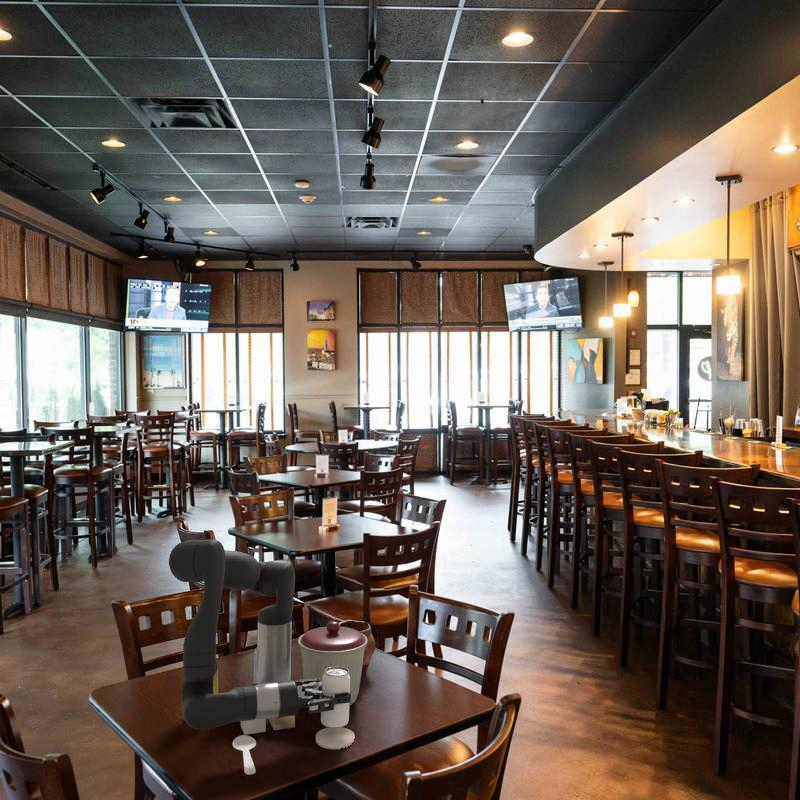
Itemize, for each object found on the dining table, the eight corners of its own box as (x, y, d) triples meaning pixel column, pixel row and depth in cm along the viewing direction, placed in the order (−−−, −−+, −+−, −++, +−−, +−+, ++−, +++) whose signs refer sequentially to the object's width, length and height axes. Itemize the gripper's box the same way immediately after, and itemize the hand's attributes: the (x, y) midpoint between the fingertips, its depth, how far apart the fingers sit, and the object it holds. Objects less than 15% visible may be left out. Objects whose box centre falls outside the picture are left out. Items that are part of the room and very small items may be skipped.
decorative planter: (388, 682, 205) (389, 633, 205) (348, 690, 199) (349, 639, 199) (357, 659, 223) (358, 613, 222) (319, 665, 217) (320, 618, 217)
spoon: (237, 777, 154) (237, 775, 154) (231, 738, 171) (231, 736, 171) (263, 774, 156) (263, 771, 156) (254, 735, 173) (254, 733, 173)
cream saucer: (309, 745, 168) (309, 741, 168) (325, 728, 176) (325, 724, 176) (345, 752, 165) (345, 747, 165) (360, 734, 174) (360, 730, 174)
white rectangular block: (244, 735, 172) (244, 709, 172) (240, 725, 177) (241, 701, 177) (265, 731, 174) (266, 706, 174) (261, 722, 179) (261, 698, 179)
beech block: (274, 730, 175) (274, 705, 175) (269, 721, 180) (270, 697, 180) (294, 727, 177) (295, 702, 177) (289, 718, 181) (290, 694, 181)
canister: (282, 702, 190) (283, 621, 190) (332, 682, 204) (334, 607, 204) (330, 724, 179) (332, 638, 178) (380, 702, 192) (382, 621, 192)
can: (344, 730, 167) (346, 677, 167) (317, 726, 168) (318, 674, 168) (351, 718, 173) (353, 667, 173) (325, 715, 174) (327, 664, 174)
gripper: (282, 695, 158) (355, 686, 165) (268, 671, 172) (337, 664, 178) (281, 730, 158) (354, 720, 165) (267, 703, 172) (336, 695, 178)
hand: (345, 691), depth 171 cm, fingers closed on can, 6 cm apart
